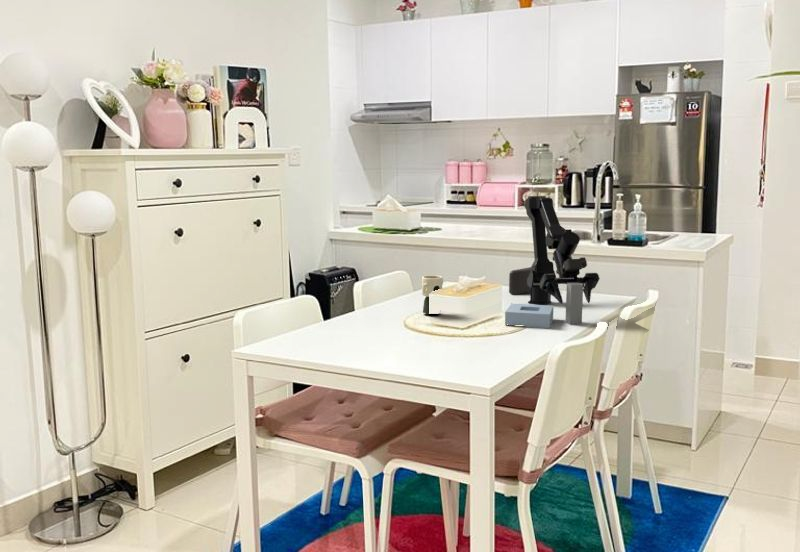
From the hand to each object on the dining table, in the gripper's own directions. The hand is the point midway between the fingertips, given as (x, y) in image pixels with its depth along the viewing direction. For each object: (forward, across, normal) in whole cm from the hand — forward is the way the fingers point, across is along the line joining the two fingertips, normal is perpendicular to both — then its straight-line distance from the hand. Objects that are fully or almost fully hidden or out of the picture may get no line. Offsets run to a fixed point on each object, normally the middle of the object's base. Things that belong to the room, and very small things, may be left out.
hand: (575, 302), depth 263 cm
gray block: (+4, 0, +6) cm, 7 cm away
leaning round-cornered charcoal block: (-34, 0, +44) cm, 56 cm away
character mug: (-10, -43, +20) cm, 48 cm away
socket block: (+2, -14, +8) cm, 16 cm away
